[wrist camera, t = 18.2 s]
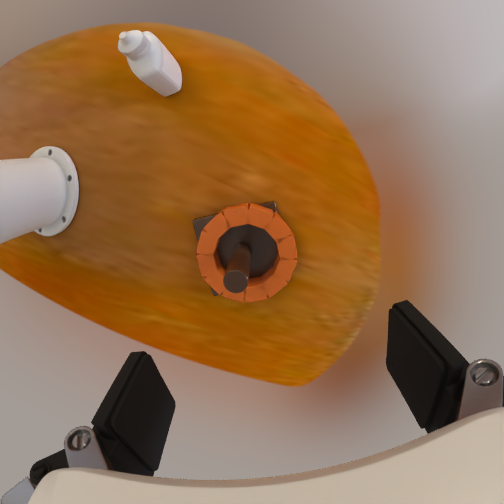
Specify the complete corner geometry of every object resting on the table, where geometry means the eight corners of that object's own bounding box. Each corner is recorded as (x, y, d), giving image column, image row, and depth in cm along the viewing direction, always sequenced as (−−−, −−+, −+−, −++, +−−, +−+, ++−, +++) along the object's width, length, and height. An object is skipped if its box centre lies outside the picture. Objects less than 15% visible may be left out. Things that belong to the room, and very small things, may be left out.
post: (215, 290, 33) (198, 336, 23) (195, 218, 31) (166, 239, 21) (289, 276, 32) (300, 319, 23) (274, 200, 30) (280, 214, 20)
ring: (214, 299, 32) (211, 309, 29) (191, 215, 29) (185, 219, 27) (300, 283, 31) (303, 292, 28) (284, 195, 28) (286, 197, 26)
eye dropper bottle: (191, 56, 25) (157, 6, 14) (179, 98, 27) (135, 63, 15) (157, 55, 25) (112, 12, 13) (145, 96, 27) (91, 66, 15)
